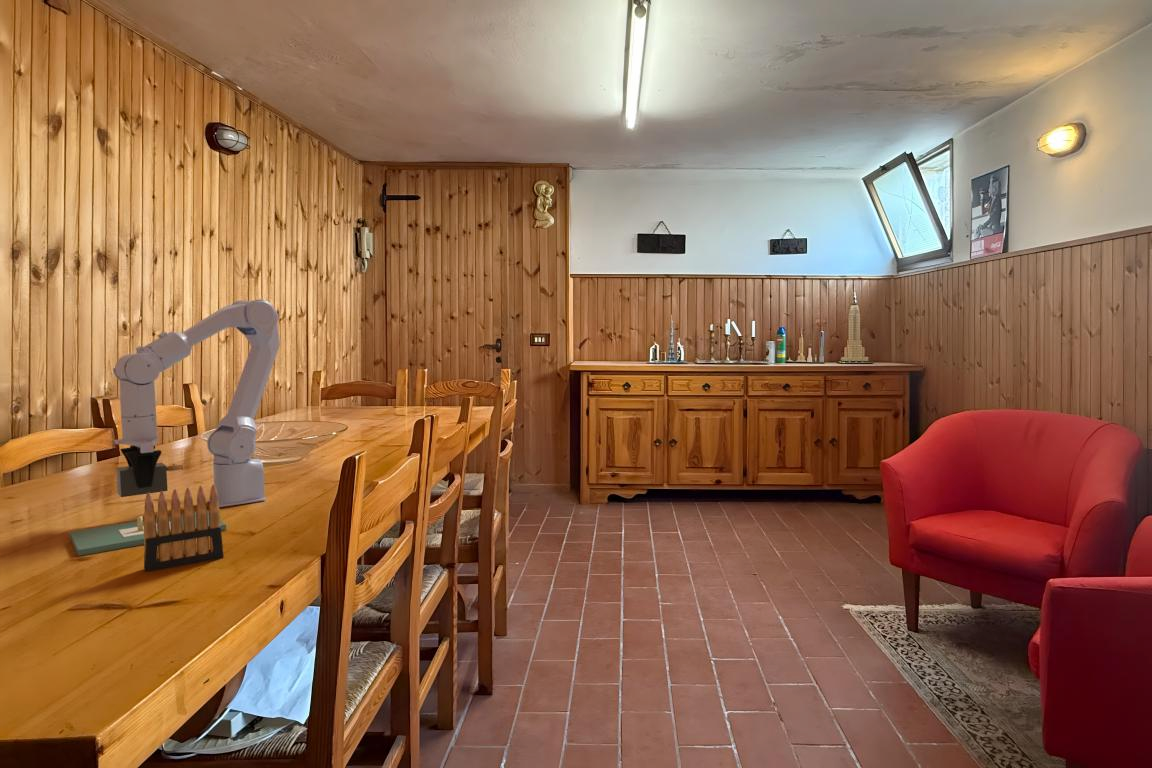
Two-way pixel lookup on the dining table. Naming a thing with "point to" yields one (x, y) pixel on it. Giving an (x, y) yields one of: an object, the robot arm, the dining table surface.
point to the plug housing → (129, 484)
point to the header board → (113, 536)
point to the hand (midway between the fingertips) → (142, 484)
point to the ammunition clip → (181, 531)
